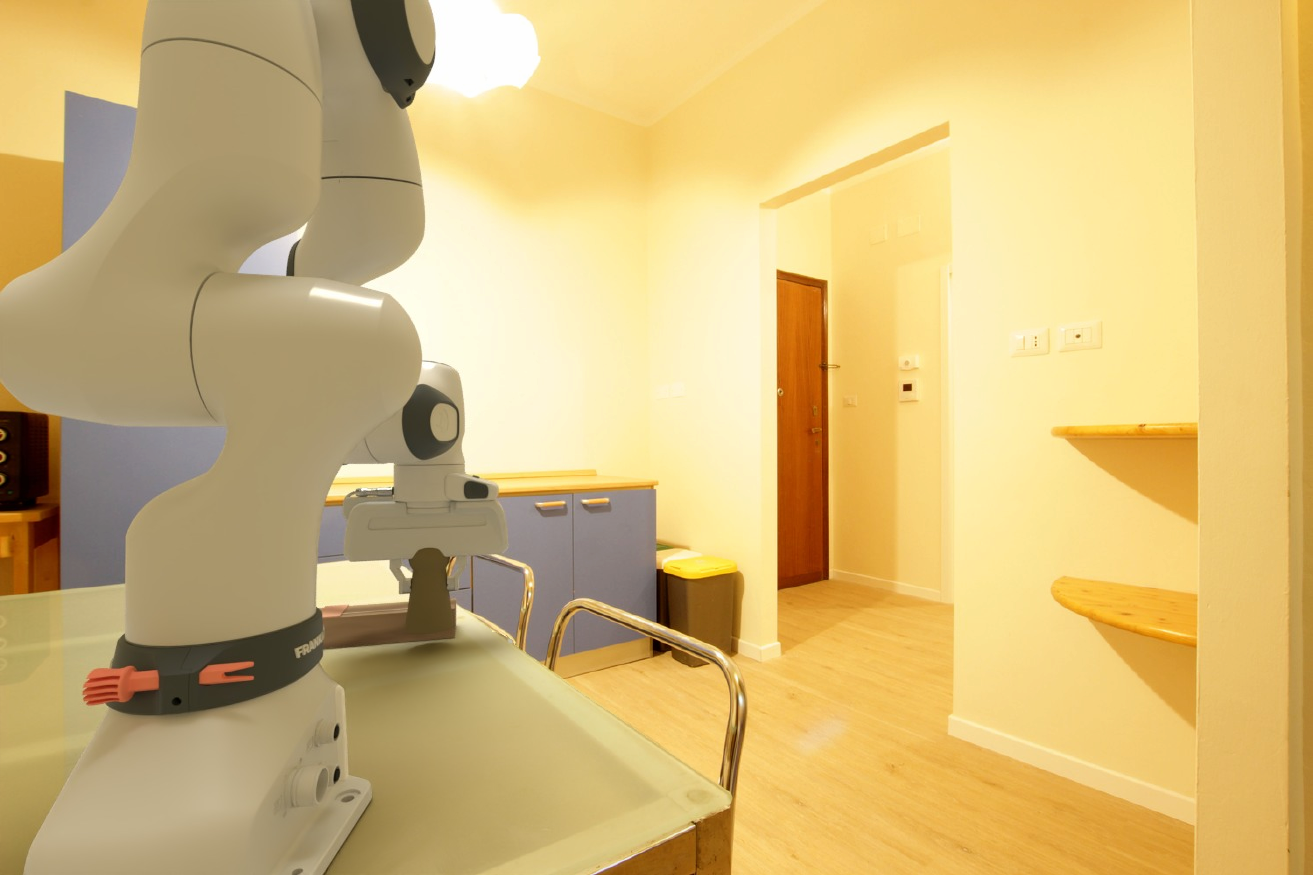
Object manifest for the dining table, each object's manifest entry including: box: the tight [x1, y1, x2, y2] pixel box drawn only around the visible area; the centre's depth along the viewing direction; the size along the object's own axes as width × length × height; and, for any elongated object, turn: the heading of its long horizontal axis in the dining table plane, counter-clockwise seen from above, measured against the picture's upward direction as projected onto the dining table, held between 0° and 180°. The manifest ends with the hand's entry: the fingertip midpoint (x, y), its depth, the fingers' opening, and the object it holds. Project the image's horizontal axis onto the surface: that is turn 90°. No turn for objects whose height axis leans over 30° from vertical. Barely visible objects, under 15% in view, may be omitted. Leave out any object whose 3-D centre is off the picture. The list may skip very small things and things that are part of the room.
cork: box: [405, 548, 454, 634], centre depth 80 cm, size 6×6×11 cm
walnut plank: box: [318, 597, 457, 650], centre depth 84 cm, size 6×20×4 cm, turn 106°
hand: (429, 591), depth 79 cm, fingers closed on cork, 4 cm apart
